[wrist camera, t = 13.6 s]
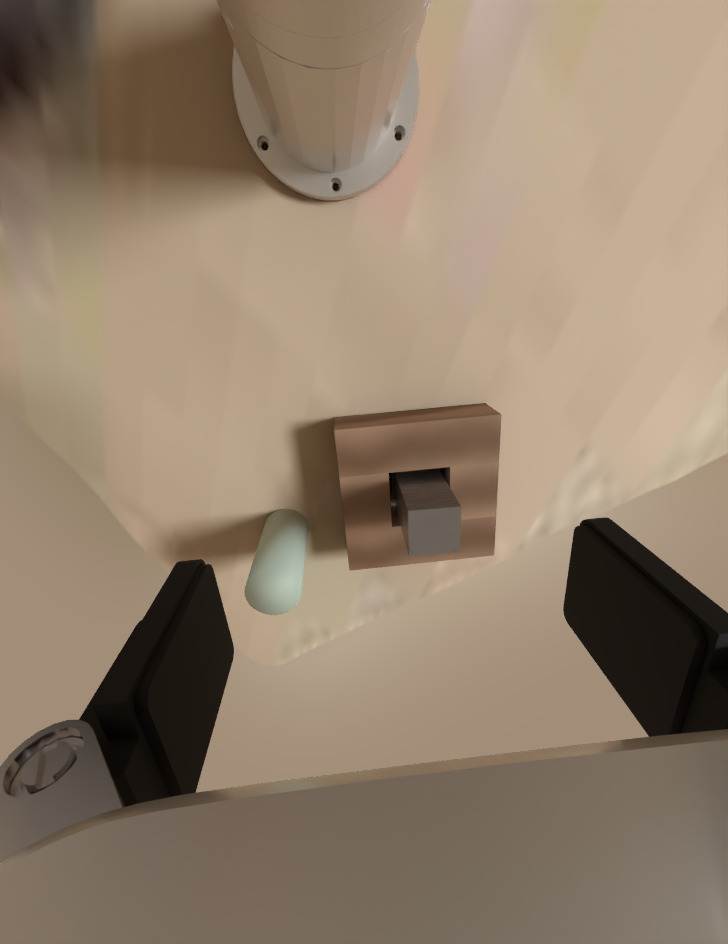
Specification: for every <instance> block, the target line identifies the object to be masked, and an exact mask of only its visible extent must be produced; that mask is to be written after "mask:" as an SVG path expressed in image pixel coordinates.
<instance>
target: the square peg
mask: <svg viewBox="0 0 728 944" xmlns="http://www.w3.org/2000/svg"><path fill="white" fill-rule="evenodd" d="M392 495H393V502H394V506H395V509H396V513H397V516H398V520H399V523H400V526H401V530H402V533H403V537H404V540H405V544H406V547H407V551H408V554H409V556H420V555H431V554H442V553H453V552H460V534H461V505H460V503H459V502H458V500H457V498H456V497H455V495H454V494H453V492H452V490H451V489H450V487H449V485H448V484H447V482H446V480H445V479H444V477H443V476H442V474H441V472H440V471H439V469H438V468H434V469H424V470H414V471H404V472H394V473H392Z"/></svg>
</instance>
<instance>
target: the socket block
mask: <svg viewBox="0 0 728 944" xmlns="http://www.w3.org/2000/svg"><path fill="white" fill-rule="evenodd" d="M500 430H501V414H500V413H499V412H497V411H496V410H494V409H493V408H491V407H490V406H488V405H487V404H486V403H483V404H472V405H461V406H451V407H440V408H429V409H419V410H408V411H398V412H387V413H376V414H366V415H355V416H344V417H334V435H335V444H336V453H337V462H338V471H339V480H340V489H341V498H342V507H343V516H344V525H345V533H346V542H347V551H348V560H349V569H350V570H359V569H368V568H378V567H387V566H397V565H406V564H416V563H425V562H435V561H444V560H454V559H464V558H473V557H483V556H492V555H494V546H495V526H496V507H497V488H498V468H499V449H500ZM434 468H440V472H441V474H442V476H443V477H444V479H445V480H446V482H447V484H448V485H449V487H450V489H451V490H452V492H453V494H454V495H455V497H456V498H457V500H458V502H459V503H460V505H461V534H460V552H453V553H442V554H431V555H420V556H409V554H408V551H407V547H406V544H405V540H404V537H403V533H402V530H401V526H400V523H399V520H398V516H397V513H396V509H395V506H391V503H390V486H389V473H394V472H404V471H414V470H424V469H434Z"/></svg>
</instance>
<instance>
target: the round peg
mask: <svg viewBox="0 0 728 944" xmlns="http://www.w3.org/2000/svg"><path fill="white" fill-rule="evenodd" d="M307 538H308V523H307V521H306V519H305V518H304V516H303V515H301V514H300V513H299V512H297V511H295V510H291V509H280V510H277V511H275V512H273V513H272V514H270V515H269V516H268V518H267V519H266V522H265V525H264V528H263V531H262V534H261V538H260V541H259V544H258V547H257V551H256V554H255V557H254V560H253V564H252V567H251V570H250V573H249V577H248V580H247V583H246V586H245V597H246V599H247V601H248V603H249V604H250V605H251V606H252V607H253V608H254V609H256V610H257V611H259V612H262V613H265V614H270V615H278V614H283V613H286V612H288V611H290V610H292V609H293V608H294V607H295V606H296V605H297V604H298V602H299V600H300V598H301V591H302V582H303V573H304V564H305V556H306V547H307Z"/></svg>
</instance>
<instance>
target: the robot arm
mask: <svg viewBox="0 0 728 944" xmlns="http://www.w3.org/2000/svg"><path fill="white" fill-rule="evenodd" d="M217 3H218V5H219V8H220V10H221V13H222V15H223V18H224V20H225V23H226V26H227V28H228V31H229V33H230V36H231V38H232V41H233V43H234V47H233V58H232V84H233V95H234V100H235V104H236V108H237V112H238V117H239V119H240V122H241V124H242V127H243V129H244V132H245V134H246V137H247V139H248V141H249V143H250V145H251V146H252V148H253V150H254V152H255V153H256V154H257V156H258V157H259V159H260V160H261V162H262V163H263V164H264V166H265V167H266V168H267V169H268V170H269V171H270V172H271V173H272V174H273V175H274V176H275V177H276V178H277V179H278V180H279V181H280V182H282V183H283V184H285V185H286V186H287V187H289V188H290V189H292V190H293V191H295V192H298V193H300V194H302V195H305V196H307V197H310V198H315V199H320V200H325V201H327V200H344V199H348V198H352V197H356V196H358V195H360V194H362V193H364V192H366V191H368V190H370V189H372V188H373V187H374V186H375V185H377V184H378V183H379V182H380V181H382V180H383V179H384V178H385V177H386V176H387V175H388V173H389V172H390V171H391V170H392V169H393V167H394V166H395V165H396V164H397V162H398V160H399V158H400V157H401V155H402V153H403V152H404V150H405V148H406V146H407V144H408V141H409V139H410V137H411V134H412V130H413V127H414V123H415V120H416V116H417V110H418V102H419V94H420V88H419V67H418V61H417V55H416V46H417V43H418V40H419V37H420V34H421V30H422V27H423V24H424V21H425V18H426V15H427V12H428V9H429V6H430V3H431V0H217ZM395 134H400V136H401V140H399V141H398V140H396V139H395ZM264 143H265V144H268V149H267V150H266V151H264V150H262V145H263V144H264ZM334 184H337V185H338V186H339V190H338V191H334V190H333V188H332V186H333V185H334ZM564 616H565V619H566V621H567V623H568V624H569V626H570V627H571V628H572V629H573V631H574V633H575V634H576V635H577V637H578V638H579V640H580V641H581V642H582V644H583V645H584V646H585V648H586V649H587V651H588V652H589V653H590V655H591V656H592V658H593V659H594V660H595V662H596V663H597V665H598V666H599V667H600V669H601V670H602V671H603V673H604V674H605V676H606V677H607V678H608V680H609V681H610V683H611V684H612V685H613V687H614V688H615V690H616V691H617V692H618V694H619V695H620V697H621V698H622V699H623V701H624V702H625V703H626V705H627V706H628V708H629V709H630V710H631V712H632V713H633V715H634V716H635V717H636V719H637V720H638V721H639V723H640V724H641V726H642V727H643V729H644V730H645V731H646V733H647V734H648V736H649V737H644V738H636V739H626V740H618V741H608V742H601V743H592V744H583V745H573V746H565V747H557V748H547V749H538V750H530V751H521V752H513V753H504V754H496V755H488V756H479V757H471V758H462V759H454V760H446V761H437V762H429V763H421V764H412V765H404V766H396V767H388V768H380V769H372V770H364V771H357V772H348V773H340V774H332V775H324V776H316V777H308V778H301V779H292V780H284V781H277V782H268V783H261V784H254V785H248V786H241V787H234V788H227V789H219V790H212V791H206V792H198V793H195V792H196V789H197V785H198V782H199V778H200V774H201V771H202V767H203V764H204V760H205V757H206V753H207V749H208V746H209V743H210V739H211V735H212V732H213V728H214V725H215V721H216V718H217V714H218V711H219V707H220V704H221V700H222V696H223V693H224V689H225V686H226V682H227V679H228V675H229V672H230V668H231V664H232V661H233V655H234V647H233V642H232V638H231V634H230V631H229V627H228V623H227V619H226V616H225V612H224V608H223V604H222V601H221V597H220V593H219V589H218V586H217V582H216V578H215V574H214V571H213V567H212V566H211V565H210V564H207V565H205V562H204V561H203V560H202V559H199V560H189V561H180V562H177V563H176V565H175V566H174V568H173V570H172V571H171V573H170V575H169V576H168V578H167V580H166V581H165V583H164V585H163V586H162V588H161V590H160V591H159V593H158V595H157V596H156V598H155V600H154V601H153V603H152V605H151V607H150V608H149V610H148V611H147V613H146V615H145V616H144V618H143V620H141V621H140V622H139V623H138V624H137V625H136V627H135V628H134V630H133V632H132V634H131V635H130V637H129V638H128V640H127V642H126V643H125V645H124V647H123V648H122V650H121V652H120V653H119V655H118V657H117V658H116V660H115V661H114V663H113V665H112V667H111V668H110V670H109V672H108V673H107V675H106V676H105V678H104V680H103V681H102V683H101V685H100V686H99V688H98V689H97V692H96V693H95V694H94V696H93V698H92V700H91V701H90V703H89V704H88V706H87V708H86V709H85V711H84V713H83V714H82V716H81V718H80V719H79V720H66V721H63V722H60V723H56V724H53V725H51V726H49V727H47V728H45V729H43V730H41V731H39V732H37V733H36V734H34V735H33V736H31V737H30V738H28V739H27V740H25V741H24V742H23V743H22V744H21V745H20V746H19V747H17V748H16V749H15V750H14V751H13V752H12V753H11V754H10V755H9V756H8V758H7V759H6V760H5V761H4V763H3V764H2V765H1V766H0V944H728V613H727V612H726V611H725V610H723V609H722V608H721V607H720V606H718V605H717V604H716V603H714V602H713V601H712V600H711V599H709V598H708V597H707V596H706V595H704V594H703V593H702V592H701V591H700V590H698V589H697V588H696V587H695V586H693V585H692V584H691V583H690V582H688V581H687V580H686V579H684V578H683V577H682V576H681V575H680V574H678V573H677V572H676V571H675V570H673V569H672V568H671V567H669V566H668V565H667V564H666V563H665V562H663V561H662V560H660V559H659V558H658V557H657V556H656V555H654V554H653V553H652V552H651V551H649V550H648V549H647V548H646V547H644V546H643V545H642V544H641V543H640V542H638V541H637V540H636V539H635V538H633V537H632V536H630V534H628V533H627V532H626V531H625V530H623V529H622V528H621V527H619V526H618V525H617V524H616V523H615V522H613V521H612V520H611V519H609V518H596V519H586V520H583V521H582V522H581V523H580V526H577V527H576V528H575V530H574V535H573V542H572V549H571V557H570V564H569V571H568V578H567V586H566V593H565V601H564Z"/></svg>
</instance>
